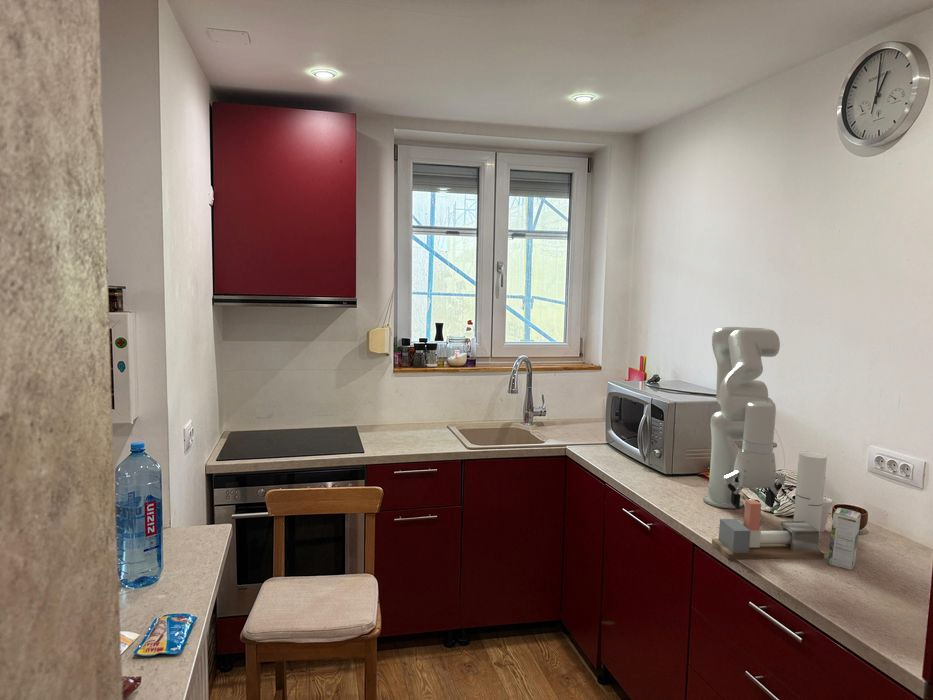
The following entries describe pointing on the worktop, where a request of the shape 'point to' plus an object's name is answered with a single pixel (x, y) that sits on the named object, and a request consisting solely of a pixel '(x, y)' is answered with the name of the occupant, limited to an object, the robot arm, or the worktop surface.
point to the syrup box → (844, 538)
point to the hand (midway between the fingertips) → (752, 506)
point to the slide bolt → (753, 525)
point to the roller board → (782, 545)
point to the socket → (734, 535)
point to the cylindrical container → (810, 488)
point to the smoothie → (825, 512)
